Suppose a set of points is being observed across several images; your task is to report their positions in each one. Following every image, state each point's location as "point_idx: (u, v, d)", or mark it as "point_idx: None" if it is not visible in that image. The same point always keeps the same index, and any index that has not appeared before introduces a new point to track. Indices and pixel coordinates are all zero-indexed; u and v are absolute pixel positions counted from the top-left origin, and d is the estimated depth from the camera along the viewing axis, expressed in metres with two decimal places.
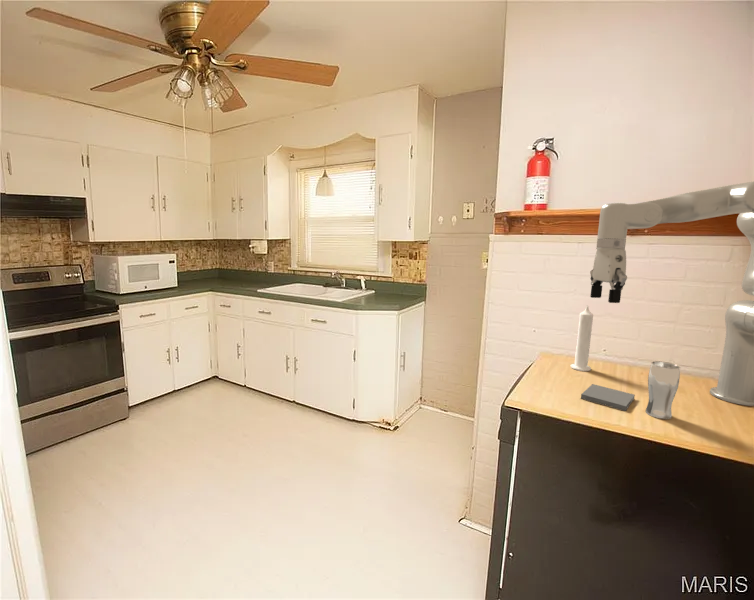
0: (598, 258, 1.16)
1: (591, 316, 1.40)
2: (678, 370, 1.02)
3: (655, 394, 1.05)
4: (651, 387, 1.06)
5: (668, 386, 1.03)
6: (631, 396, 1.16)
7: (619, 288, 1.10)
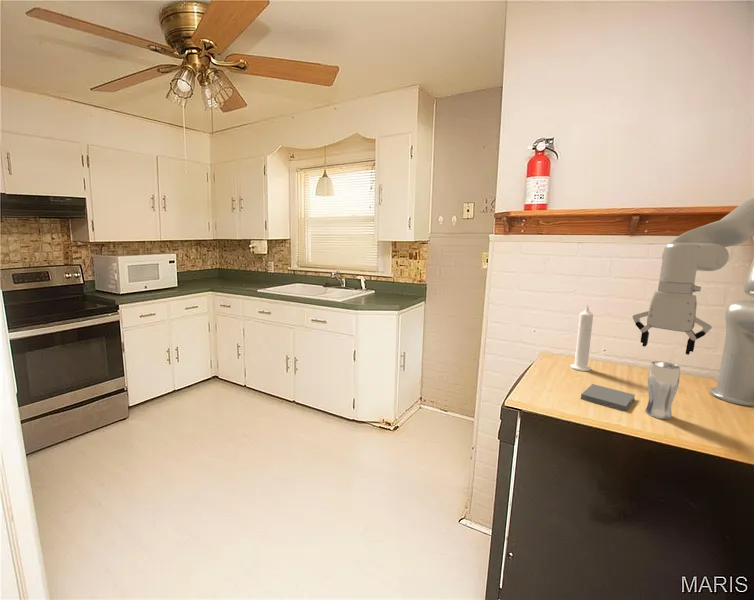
0: (665, 304, 1.01)
1: (591, 316, 1.40)
2: (678, 370, 1.02)
3: (655, 394, 1.05)
4: (651, 387, 1.06)
5: (668, 386, 1.03)
6: (631, 396, 1.16)
7: (697, 338, 0.99)
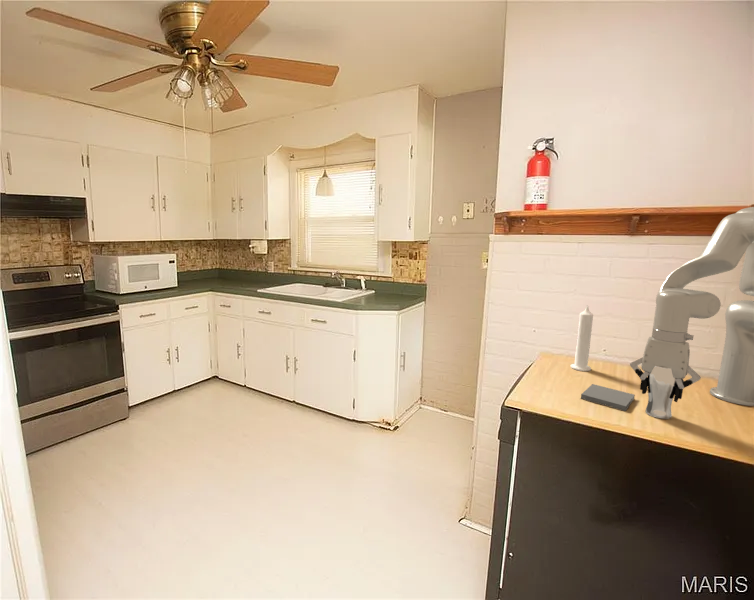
0: (659, 351, 1.04)
1: (591, 316, 1.40)
2: None
3: (655, 394, 1.05)
4: (651, 387, 1.06)
5: (667, 386, 1.03)
6: (631, 396, 1.16)
7: None
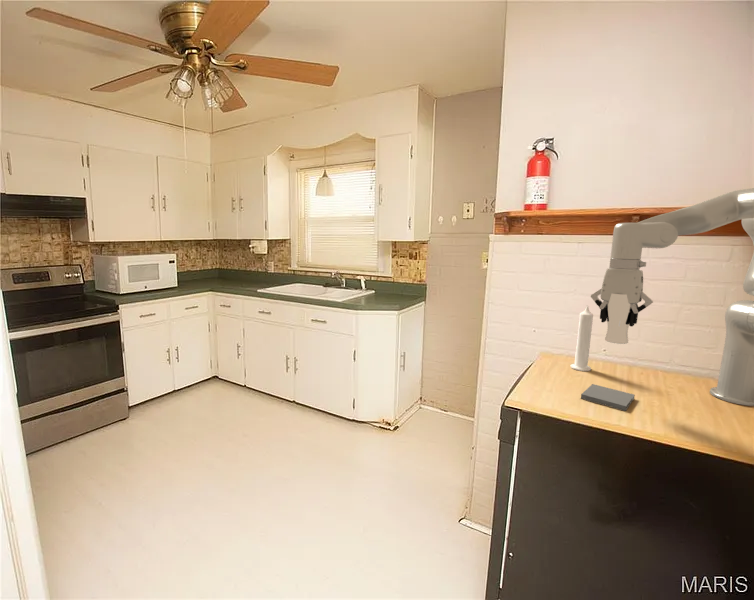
0: (615, 279, 1.11)
1: (591, 316, 1.40)
2: None
3: (612, 321, 1.13)
4: (609, 314, 1.13)
5: (623, 311, 1.10)
6: (631, 396, 1.16)
7: None
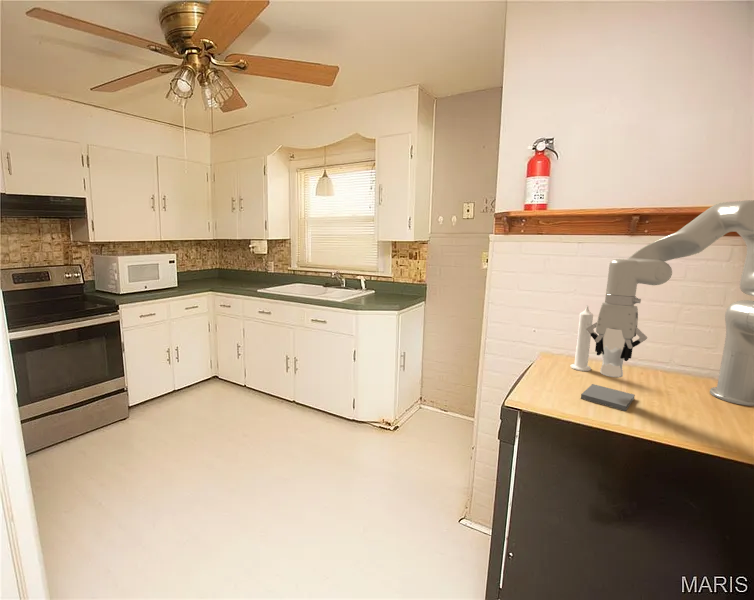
0: (610, 314, 1.13)
1: (591, 316, 1.40)
2: None
3: (607, 355, 1.14)
4: (604, 348, 1.15)
5: (618, 346, 1.12)
6: (631, 396, 1.16)
7: None
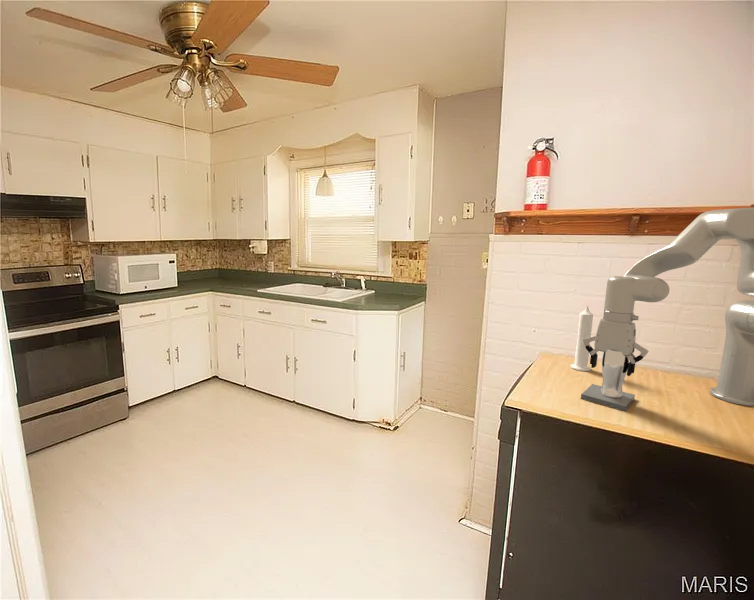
0: (608, 331, 1.13)
1: (591, 316, 1.40)
2: None
3: (607, 376, 1.15)
4: (604, 369, 1.16)
5: (618, 368, 1.13)
6: (631, 396, 1.16)
7: (637, 361, 1.11)
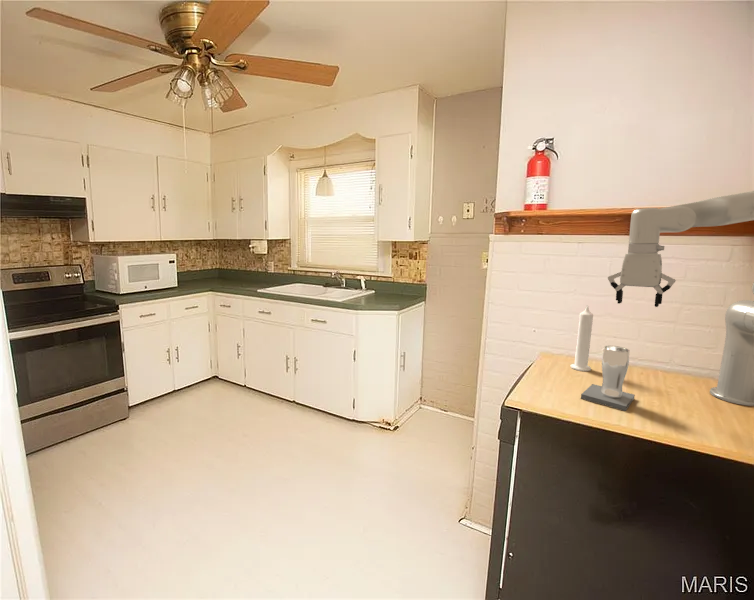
0: (634, 264, 1.14)
1: (591, 316, 1.40)
2: (627, 353, 1.12)
3: (607, 375, 1.15)
4: (604, 369, 1.16)
5: (618, 367, 1.13)
6: (631, 396, 1.16)
7: (664, 291, 1.12)
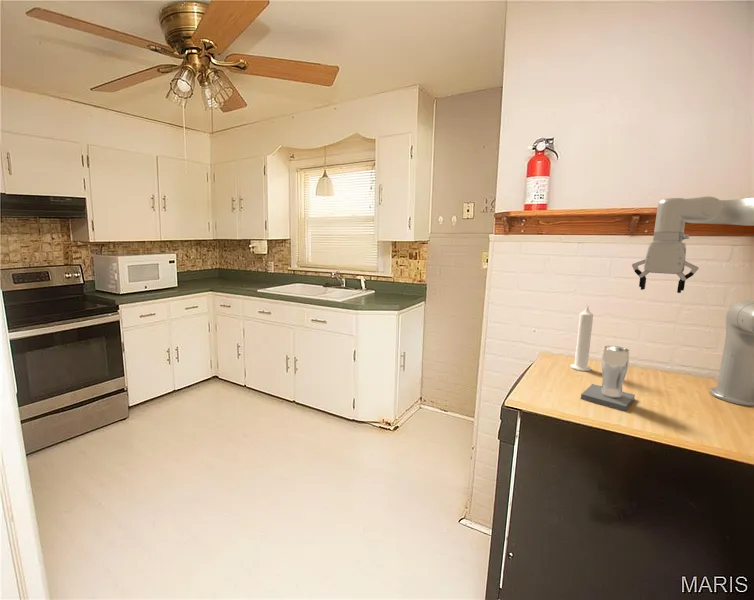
0: (659, 251, 1.20)
1: (591, 316, 1.40)
2: (627, 353, 1.12)
3: (607, 376, 1.15)
4: (604, 369, 1.16)
5: (618, 368, 1.13)
6: (631, 396, 1.16)
7: (687, 278, 1.18)
